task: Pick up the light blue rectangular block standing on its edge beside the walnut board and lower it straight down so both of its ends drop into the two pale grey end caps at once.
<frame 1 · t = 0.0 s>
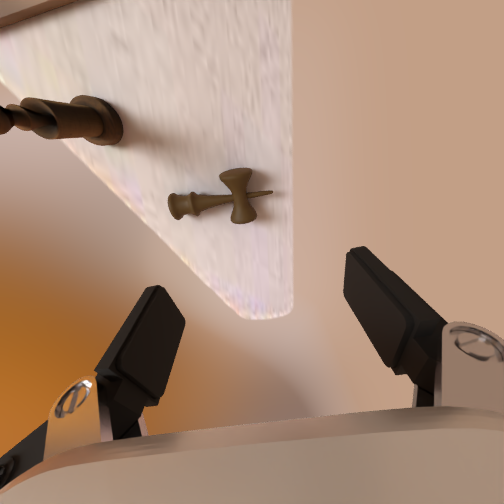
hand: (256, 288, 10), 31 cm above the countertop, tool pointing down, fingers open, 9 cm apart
kendama: (223, 195, 38), on the countertop
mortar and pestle: (102, 122, 31), on the countertop
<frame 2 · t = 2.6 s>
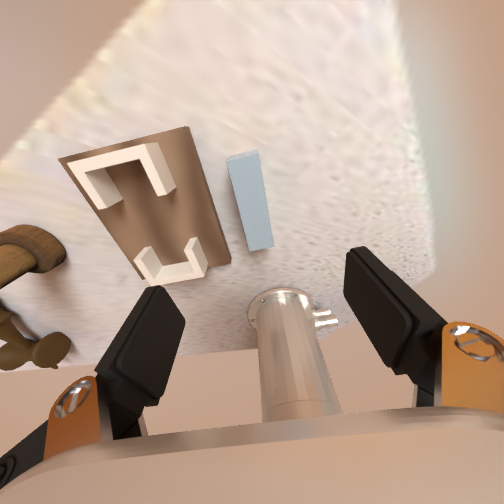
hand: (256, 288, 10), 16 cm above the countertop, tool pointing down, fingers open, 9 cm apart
light blue rectangular block: (252, 196, 24), on the countertop
end caps: (153, 225, 22), on the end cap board, point 2 cm above the countertop
kendama: (33, 326, 37), on the countertop
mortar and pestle: (41, 244, 27), on the countertop
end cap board: (163, 215, 24), on the countertop
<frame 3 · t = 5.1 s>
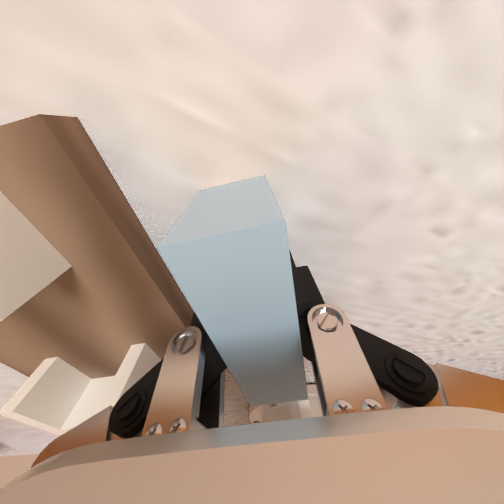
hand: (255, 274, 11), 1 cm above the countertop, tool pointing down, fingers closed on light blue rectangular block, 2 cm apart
light blue rectangular block: (254, 268, 11), on the countertop, touching gripper
end caps: (31, 346, 10), on the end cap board, point 2 cm above the countertop
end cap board: (75, 301, 12), on the countertop
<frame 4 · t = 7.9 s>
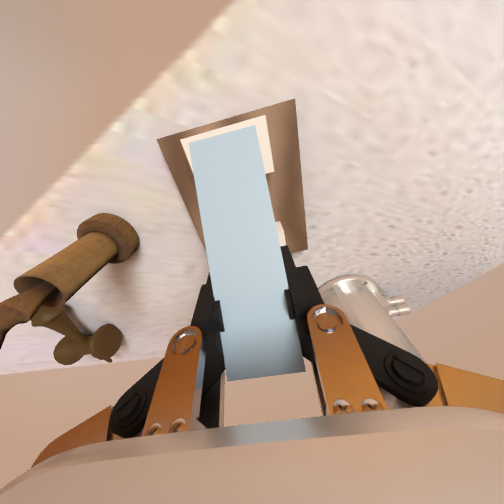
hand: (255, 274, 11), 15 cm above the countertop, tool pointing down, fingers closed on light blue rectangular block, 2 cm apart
light blue rectangular block: (255, 254, 12), point 13 cm above the countertop, tilted 38°, touching gripper
end caps: (244, 207, 21), on the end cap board, point 2 cm above the countertop
kendama: (86, 319, 36), on the countertop
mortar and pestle: (115, 234, 26), on the countertop
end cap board: (245, 199, 24), on the countertop
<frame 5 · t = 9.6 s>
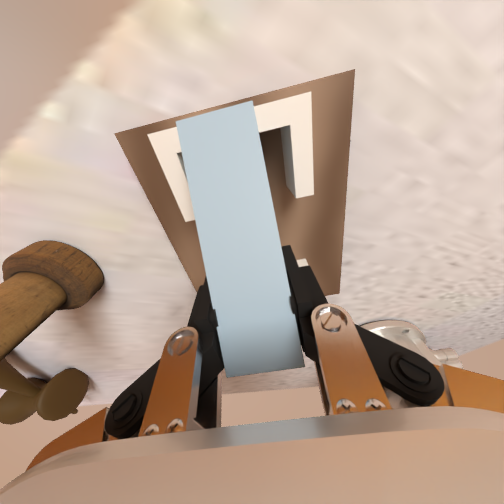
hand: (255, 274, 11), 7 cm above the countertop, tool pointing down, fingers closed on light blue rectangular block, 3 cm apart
light blue rectangular block: (251, 244, 12), point 5 cm above the countertop, tilted 32°, touching end caps, gripper
end caps: (257, 243, 14), on the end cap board, point 2 cm above the countertop
kendama: (40, 363, 28), on the countertop
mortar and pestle: (69, 267, 18), on the countertop
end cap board: (255, 226, 16), on the countertop
when the fingers open (4 cm above the countertop, at t = 11.0 s): light blue rectangular block drops 1 cm, resting on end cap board.
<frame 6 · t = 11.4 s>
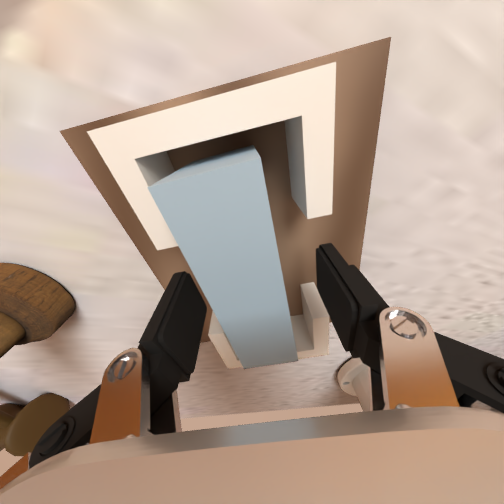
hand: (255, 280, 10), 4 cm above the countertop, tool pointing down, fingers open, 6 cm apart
light blue rectangular block: (247, 241, 12), point 1 cm above the countertop, touching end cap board
end caps: (255, 270, 11), on the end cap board, point 2 cm above the countertop
kendama: (14, 388, 25), on the countertop
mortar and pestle: (33, 292, 16), on the countertop
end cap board: (253, 244, 13), on the countertop
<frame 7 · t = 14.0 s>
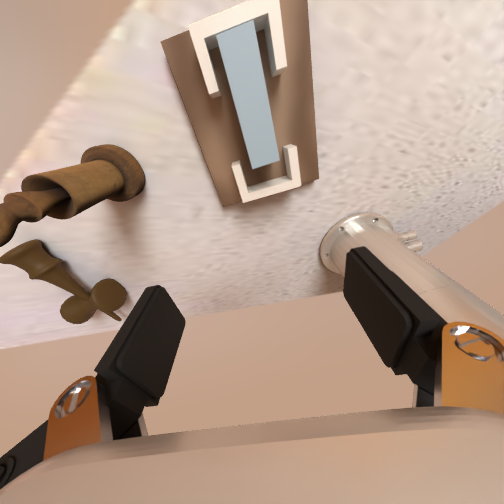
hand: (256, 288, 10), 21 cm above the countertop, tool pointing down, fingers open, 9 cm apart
light blue rectangular block: (250, 111, 21), point 1 cm above the countertop, touching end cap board
end caps: (255, 122, 20), on the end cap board, point 2 cm above the countertop
kendama: (87, 278, 35), on the countertop
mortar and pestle: (120, 172, 25), on the countertop
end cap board: (253, 123, 23), on the countertop
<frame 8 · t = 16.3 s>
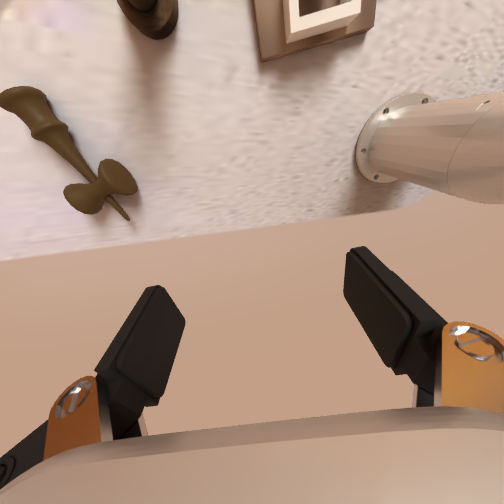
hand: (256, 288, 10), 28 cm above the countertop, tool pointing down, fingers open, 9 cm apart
kendama: (95, 164, 32), on the countertop
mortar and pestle: (151, 0, 22), on the countertop
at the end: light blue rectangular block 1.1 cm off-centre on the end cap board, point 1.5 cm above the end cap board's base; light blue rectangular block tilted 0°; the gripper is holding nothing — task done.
